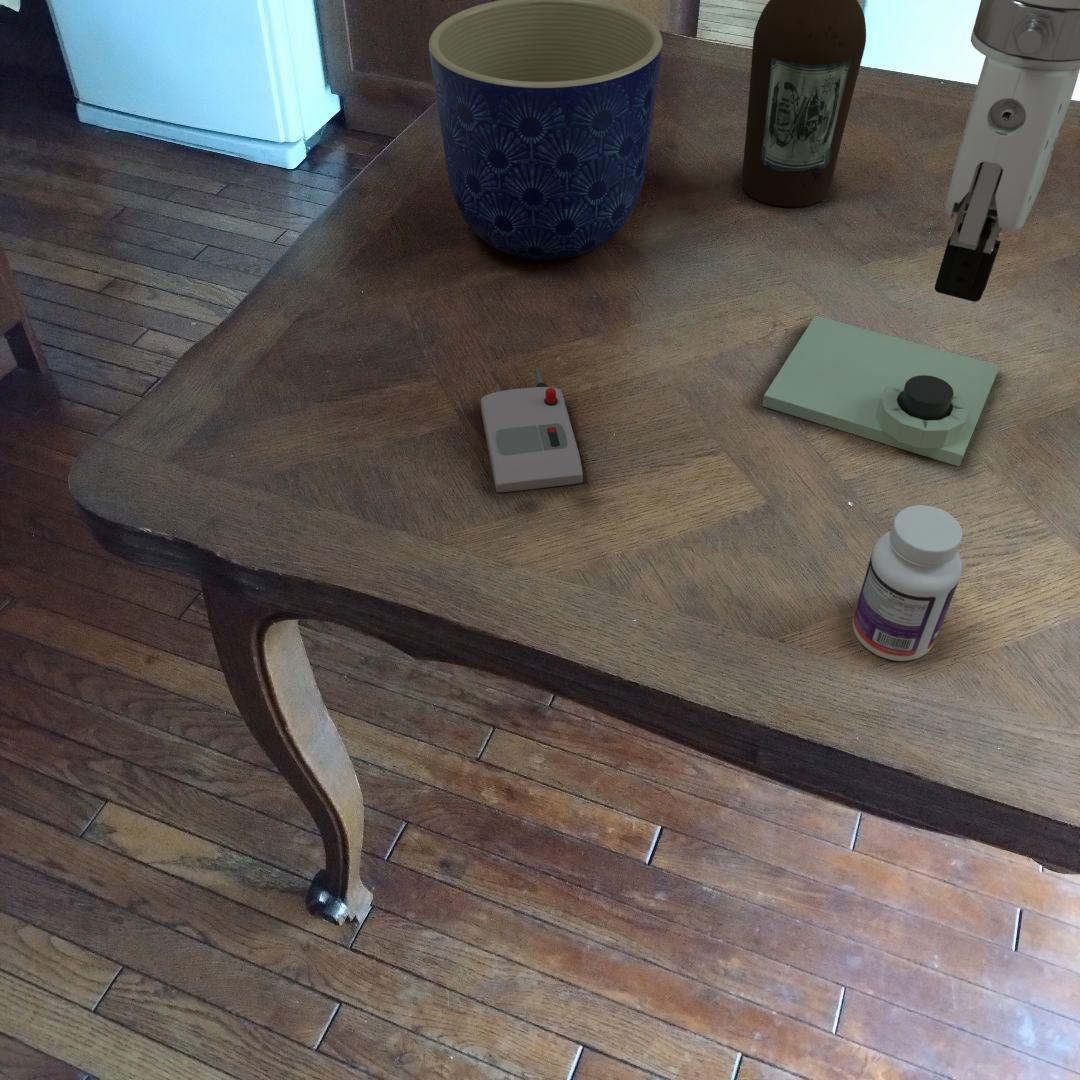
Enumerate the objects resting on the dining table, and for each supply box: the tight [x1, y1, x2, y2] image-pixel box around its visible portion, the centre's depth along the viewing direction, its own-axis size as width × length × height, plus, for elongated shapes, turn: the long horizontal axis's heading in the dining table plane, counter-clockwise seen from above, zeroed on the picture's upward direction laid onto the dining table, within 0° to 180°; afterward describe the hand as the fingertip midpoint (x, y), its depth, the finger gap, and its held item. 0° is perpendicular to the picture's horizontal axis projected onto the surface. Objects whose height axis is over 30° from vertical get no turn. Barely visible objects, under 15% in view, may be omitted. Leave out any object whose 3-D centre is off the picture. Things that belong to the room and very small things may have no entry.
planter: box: [428, 0, 664, 261], centre depth 100 cm, size 21×21×19 cm
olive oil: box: [740, 0, 867, 208], centre depth 104 cm, size 11×11×25 cm
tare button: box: [900, 375, 954, 421], centre depth 82 cm, size 4×4×2 cm
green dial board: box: [761, 315, 1000, 467], centre depth 87 cm, size 16×14×3 cm
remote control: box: [480, 365, 584, 509], centre depth 83 cm, size 7×16×3 cm, turn 9°
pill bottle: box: [852, 504, 963, 662], centre depth 67 cm, size 5×5×10 cm
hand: (958, 291), depth 75 cm, fingers closed
